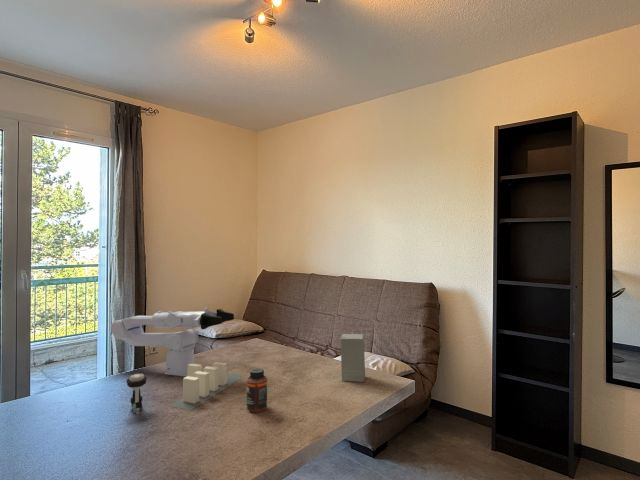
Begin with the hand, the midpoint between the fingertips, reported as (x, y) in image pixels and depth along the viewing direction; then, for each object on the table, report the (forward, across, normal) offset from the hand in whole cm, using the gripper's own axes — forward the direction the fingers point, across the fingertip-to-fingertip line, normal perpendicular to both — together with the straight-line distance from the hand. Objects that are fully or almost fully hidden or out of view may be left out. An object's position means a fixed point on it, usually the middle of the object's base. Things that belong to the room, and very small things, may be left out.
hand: (227, 318), depth 132 cm
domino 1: (-9, -9, +21) cm, 25 cm away
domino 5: (-1, -6, +21) cm, 22 cm away
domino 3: (-1, -21, +21) cm, 30 cm away
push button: (-12, -31, +21) cm, 39 cm away
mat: (-1, -11, +22) cm, 24 cm away
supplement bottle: (+20, -18, +24) cm, 36 cm away
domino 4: (-1, -11, +21) cm, 24 cm away
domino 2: (-1, -16, +21) cm, 27 cm away
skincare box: (+41, +15, +26) cm, 51 cm away
